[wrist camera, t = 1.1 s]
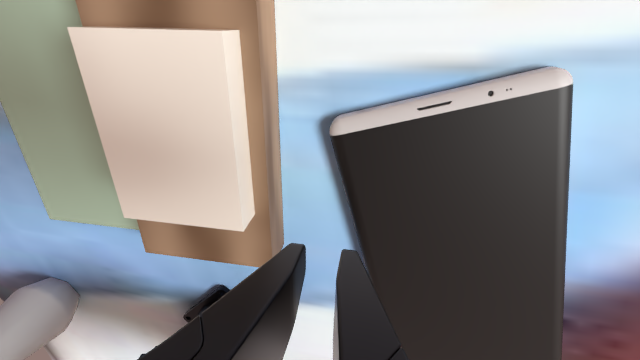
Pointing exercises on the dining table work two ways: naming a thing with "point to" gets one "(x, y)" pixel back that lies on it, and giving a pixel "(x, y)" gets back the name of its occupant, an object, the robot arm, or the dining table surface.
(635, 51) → the dining table surface
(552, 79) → the smartphone
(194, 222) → the pale pink slab
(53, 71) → the mat
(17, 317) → the salt shaker
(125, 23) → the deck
